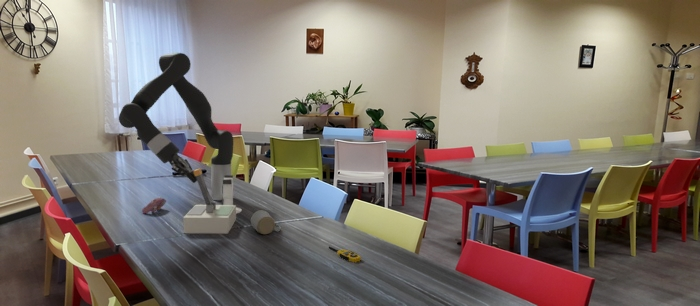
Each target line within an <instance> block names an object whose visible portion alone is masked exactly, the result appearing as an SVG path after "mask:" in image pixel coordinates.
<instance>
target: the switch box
mask: <svg viewBox="0 0 700 306" xmlns="http://www.w3.org/2000/svg"><path fill="white" fill-rule="evenodd" d="M212 203H213V205H206V204H195V205H194V206H193V207H192V208H191V209H190V210H189V211H188V212H187V213H186V214H185V215H184V216H183V221H182V222H183V224H182V225H183V234H229V232H230V231H231V229H232V227H233V226H234V224H235V222H236V220H237V214H236V207H237V204H233V205H223V204H217V200H213V201H212ZM213 206H214V208H213Z"/></svg>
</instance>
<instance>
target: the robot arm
mask: <svg viewBox="0 0 700 306" xmlns="http://www.w3.org/2000/svg"><path fill="white" fill-rule="evenodd" d="M158 65H159V69H160V71H161V73H160V74H159V75H158V76H156V77H154V78H152V80H149V81H148V82H147V83H145V84H144V86H142V88H141V89H139V91H138V92H137V93H136V94H135V95H134V97H133V99H132V100H131V102H127V103H126V104H125V105H123V107H122V108H121V111H120V113H119V115H118V122H119V123H120V125H121V126H122V127H123V128H127V129H130V128H131V129H132V128H135V129H136V134H137V137H138V138H139V139H140V140H141V142H143V143H144V144H145V145H146V146H147V147H148V149H149V150H150V151H151V152H152V153H153V155H155V156H156V158H158V159H159V160H160V161H161V162H162V163H163V164H166V163H169V164H170V166H171V170H172V171H174V172H175V173H177V174H178V175H180V176H182V177H187V178H188V179H189V181H191V182H192V184H195V183H197V182H198V181H197V178H196V176H195V175H194V173H193V168H192V166H191V164H190V163H189V161H188V159H186V158H183V157H182V156H180V155H179V152H180V148H179V147H178V146H177V145H175V144H174V143H173V142H172V140H171V139H170V138H169V137H167V136H166V135H165V134H164V133H162V132H161V130H159V128H158V127H157V126H155V125H154V123H153V121H152V120H151V118H150V117H149V115H148V114H147V113H148V111H149V110H150V109H151V108H152V107H153V106H154V105H155V103H156V102H157V101H158V100H159V99H160V98H161V97H162V96H163V94H165V93H166V92H167V90H168V89H170V88H171V87H173V88H174V89H175V91H176V92H177V94H178V96H179V97H180V98H181V100H182V102H184V104H185V107H186V108H187V110H188V111H189V112H190V114H191V116H192V117H193V119H194V121H195V123H196V124H197V125H198V127H199V129H200V130H201V132H202V134H203V136H204V139H205V140H206V143H207V145H208V146H210V148H212V149H213V150H217V154H216V155H215V156H212V157H211V159H210V166H211V168H210V169H211V170H210V171H211V172H210V173H211V174H210V175H211V177H210V178H211V181H210V182H211V185H210V186H211V187H210V188H211V200H213V201H222V199H223V193H222V185H223V180H224V178H225V175H232V159H233V156H234V136H233V134H232V132H231V131H228V130H225V129H224V130H222V129H219V128H217V127H216V125H215V123H214V121H213V119H212V106H211V104H210V101H208V98H207V97H206V95H205V94H204V92H202V91H201V90H200V89H199V88H198V87H196V86H195V85H194V84H193V83H191V82H190V81H188V79H187V78H186V77H185V75H187V74H188V72H190V69H191V60H190V57H189V56H188V55H186V54H185V53H183V52H172V53H165V54H162V55H160V57H159V59H158Z"/></svg>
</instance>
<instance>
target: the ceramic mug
mask: <svg viewBox="0 0 700 306" xmlns="http://www.w3.org/2000/svg"><path fill="white" fill-rule="evenodd" d="M251 215H252V216H251V217H250V225H251V226H252V227H253V229H255V231H257V233H259V234H261V235H270V234H271V233H272V232H273V231H275V232H280V231H281V229H282V227H281V226H280V225H279V224H278V223H275V220H274V218H273V217H272V216H271V215H270V214H269V212H268V211H266V210H263V209H259V210H257V211H255V212H253V214H251Z"/></svg>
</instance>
